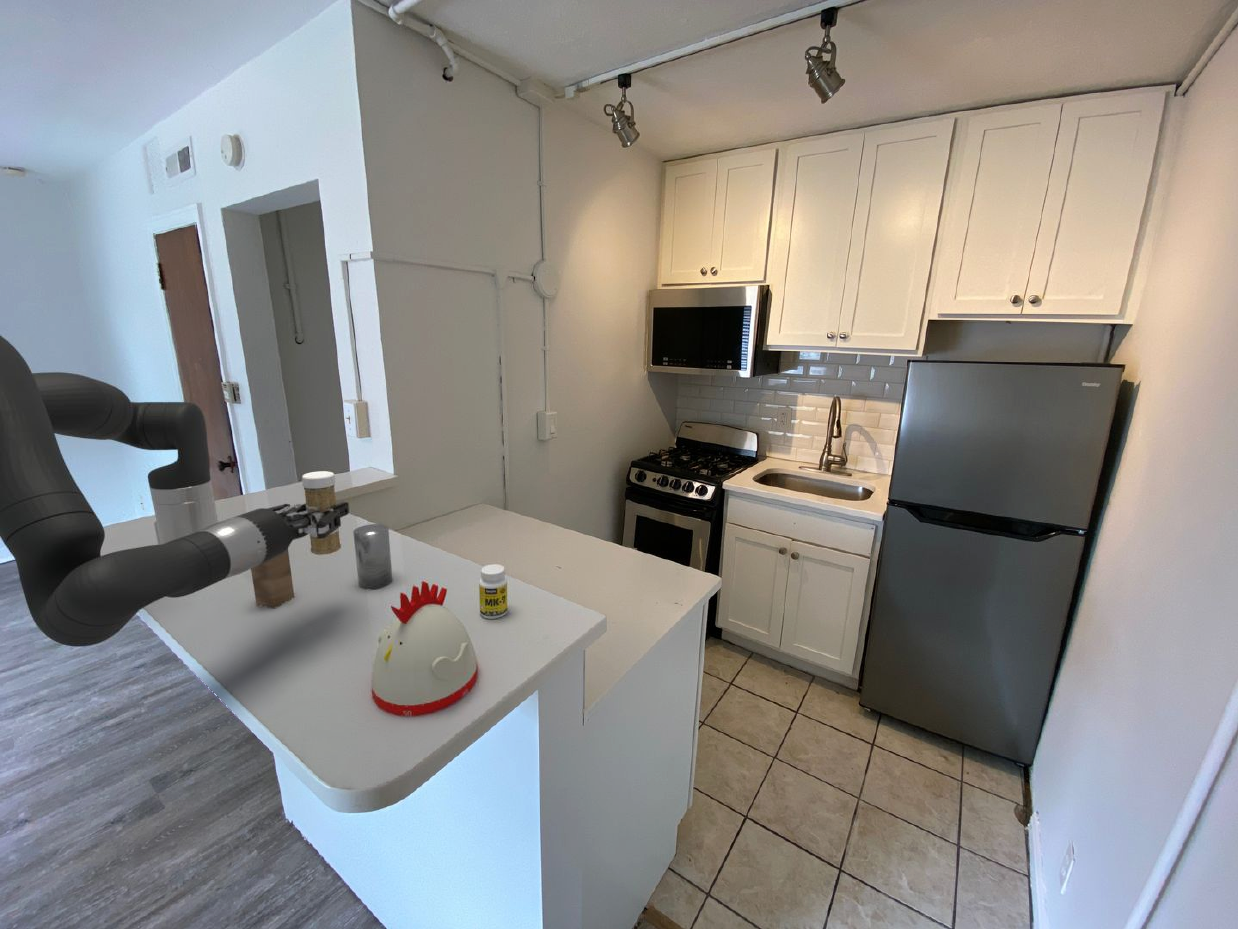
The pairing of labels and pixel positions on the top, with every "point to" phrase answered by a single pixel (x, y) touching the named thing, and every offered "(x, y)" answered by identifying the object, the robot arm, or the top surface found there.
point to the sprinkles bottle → (319, 498)
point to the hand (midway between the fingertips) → (334, 506)
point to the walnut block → (273, 581)
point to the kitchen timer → (423, 657)
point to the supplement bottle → (493, 591)
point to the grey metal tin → (373, 556)
